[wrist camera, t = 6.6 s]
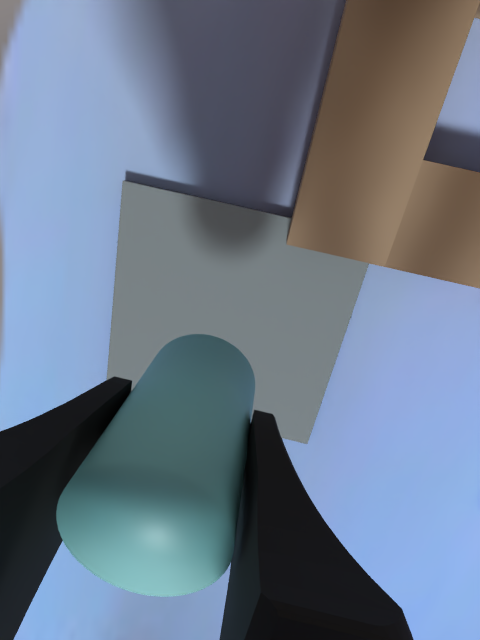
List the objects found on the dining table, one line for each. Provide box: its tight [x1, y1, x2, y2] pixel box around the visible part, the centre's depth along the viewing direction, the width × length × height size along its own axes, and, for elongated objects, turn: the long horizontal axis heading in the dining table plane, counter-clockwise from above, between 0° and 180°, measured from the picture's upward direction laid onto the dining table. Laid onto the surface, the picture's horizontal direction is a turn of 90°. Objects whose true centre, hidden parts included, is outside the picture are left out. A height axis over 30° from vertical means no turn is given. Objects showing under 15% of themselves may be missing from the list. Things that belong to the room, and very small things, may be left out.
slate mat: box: [107, 181, 369, 444], centre depth 20 cm, size 12×12×1 cm
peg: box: [56, 334, 255, 597], centre depth 11 cm, size 4×4×6 cm
